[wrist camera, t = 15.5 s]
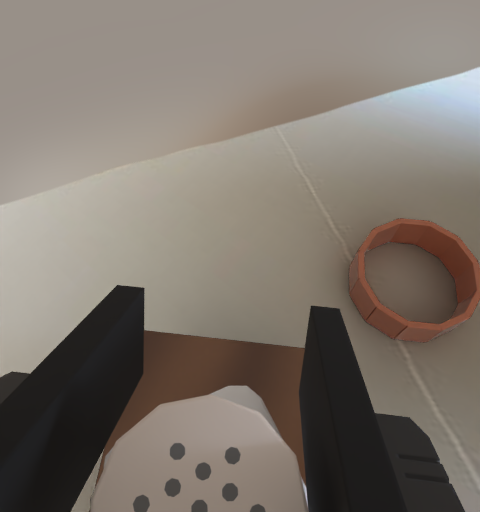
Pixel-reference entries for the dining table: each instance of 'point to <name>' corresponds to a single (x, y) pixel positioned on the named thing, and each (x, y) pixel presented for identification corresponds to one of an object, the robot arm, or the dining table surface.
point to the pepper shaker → (202, 460)
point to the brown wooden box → (217, 380)
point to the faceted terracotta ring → (435, 242)
